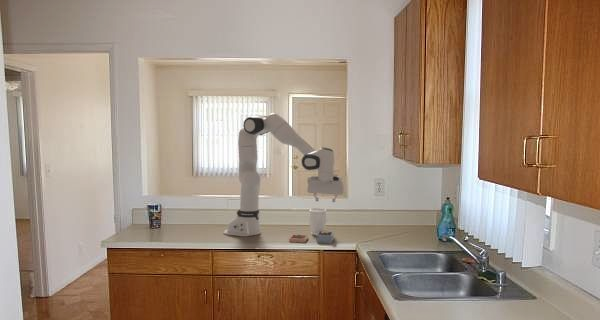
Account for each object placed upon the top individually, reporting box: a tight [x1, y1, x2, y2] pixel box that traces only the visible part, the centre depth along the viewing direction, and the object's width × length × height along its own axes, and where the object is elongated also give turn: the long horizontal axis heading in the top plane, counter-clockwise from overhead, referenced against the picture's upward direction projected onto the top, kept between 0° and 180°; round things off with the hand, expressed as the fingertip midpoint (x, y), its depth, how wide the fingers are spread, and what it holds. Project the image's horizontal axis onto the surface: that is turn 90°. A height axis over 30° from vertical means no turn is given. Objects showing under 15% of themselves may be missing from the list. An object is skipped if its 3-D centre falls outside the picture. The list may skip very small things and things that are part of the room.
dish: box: [288, 234, 309, 243], centre depth 238 cm, size 9×9×2 cm
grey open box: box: [316, 231, 334, 244], centre depth 236 cm, size 8×8×5 cm
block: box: [321, 230, 330, 235], centre depth 236 cm, size 4×4×5 cm
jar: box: [308, 207, 327, 236], centre depth 254 cm, size 11×10×15 cm
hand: (325, 201), depth 234 cm, fingers open, 8 cm apart
